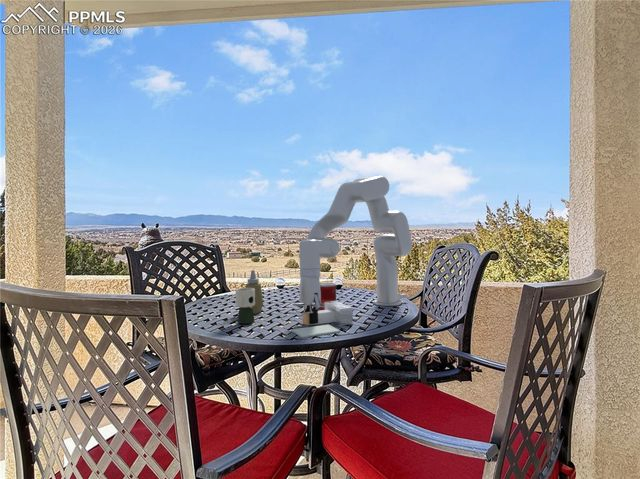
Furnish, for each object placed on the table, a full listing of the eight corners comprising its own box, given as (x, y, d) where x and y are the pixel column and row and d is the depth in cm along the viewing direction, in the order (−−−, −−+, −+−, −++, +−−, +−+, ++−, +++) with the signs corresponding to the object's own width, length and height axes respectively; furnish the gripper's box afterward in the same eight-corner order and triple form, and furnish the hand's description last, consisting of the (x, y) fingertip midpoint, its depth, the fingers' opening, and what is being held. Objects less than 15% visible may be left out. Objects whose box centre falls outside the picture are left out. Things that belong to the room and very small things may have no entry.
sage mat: (328, 326, 140) (328, 324, 140) (340, 332, 132) (339, 330, 132) (292, 331, 134) (292, 329, 134) (301, 337, 126) (301, 336, 126)
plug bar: (331, 319, 149) (331, 309, 148) (336, 321, 145) (336, 311, 145) (302, 323, 144) (302, 312, 144) (306, 325, 140) (306, 314, 140)
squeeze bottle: (265, 310, 168) (264, 269, 167) (261, 314, 160) (259, 271, 159) (247, 310, 168) (246, 269, 168) (241, 314, 160) (240, 271, 160)
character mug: (250, 327, 141) (249, 291, 140) (231, 326, 142) (230, 291, 141) (259, 319, 151) (258, 286, 151) (242, 319, 152) (241, 286, 152)
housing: (336, 315, 155) (335, 300, 155) (352, 323, 142) (352, 307, 142) (324, 317, 153) (324, 302, 153) (340, 325, 140) (340, 308, 140)
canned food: (336, 311, 164) (336, 285, 163) (317, 311, 164) (317, 285, 163) (336, 307, 171) (335, 282, 171) (318, 307, 172) (317, 282, 171)
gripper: (292, 271, 148) (294, 318, 149) (309, 276, 133) (310, 328, 134) (310, 269, 151) (312, 316, 152) (329, 274, 136) (330, 326, 137)
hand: (311, 321), depth 143 cm, fingers closed on plug bar, 4 cm apart
